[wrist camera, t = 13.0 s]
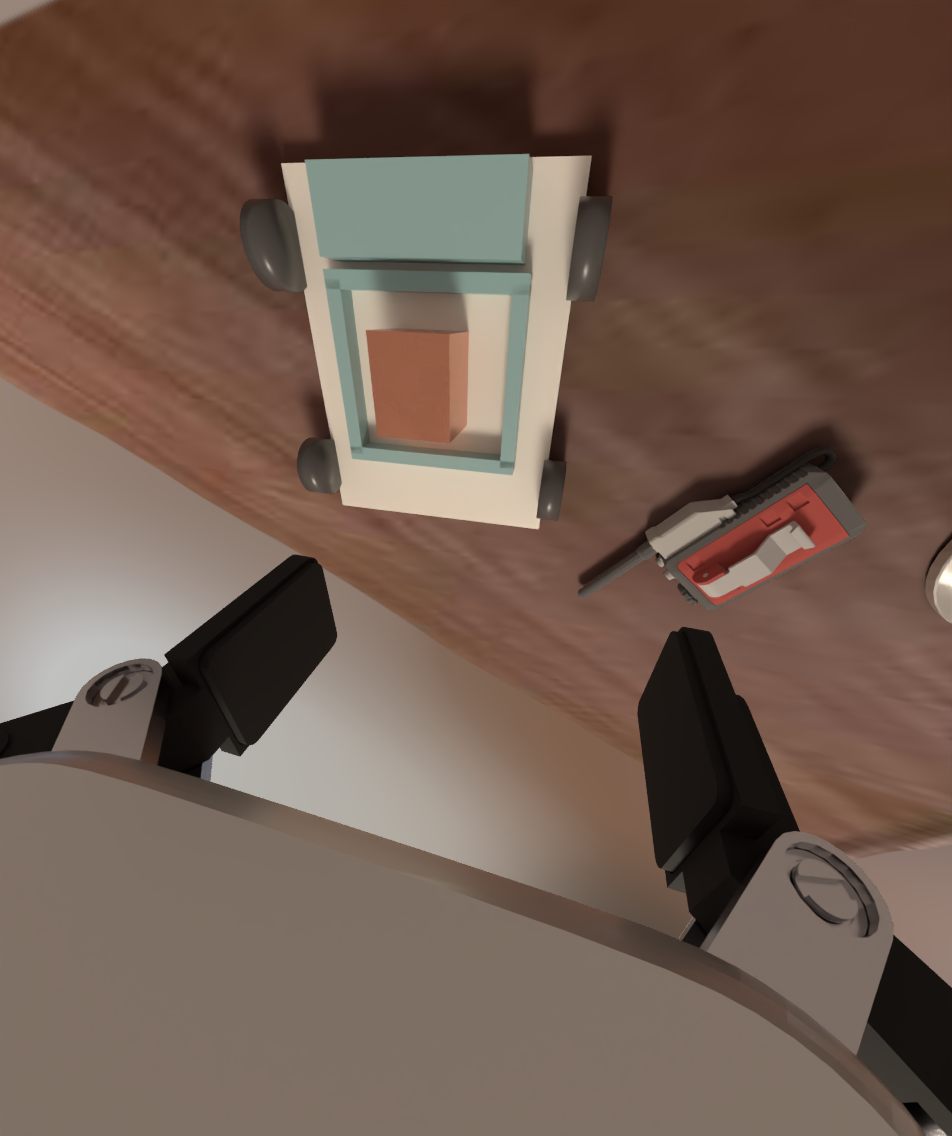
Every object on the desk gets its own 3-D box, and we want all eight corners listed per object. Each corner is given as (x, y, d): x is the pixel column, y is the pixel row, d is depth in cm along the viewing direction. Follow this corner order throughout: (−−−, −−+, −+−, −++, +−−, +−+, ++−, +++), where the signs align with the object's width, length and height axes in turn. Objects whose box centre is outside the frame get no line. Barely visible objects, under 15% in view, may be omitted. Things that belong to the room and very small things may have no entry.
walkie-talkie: (800, 417, 25) (571, 580, 36) (839, 434, 21) (571, 609, 32) (867, 504, 27) (631, 634, 38) (912, 533, 24) (637, 667, 34)
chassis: (615, 161, 20) (625, 127, 17) (554, 525, 32) (552, 551, 29) (272, 169, 23) (218, 142, 20) (335, 499, 36) (309, 519, 32)
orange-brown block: (468, 331, 25) (449, 334, 21) (466, 425, 28) (449, 443, 24) (397, 328, 26) (365, 330, 22) (404, 419, 29) (377, 436, 25)
